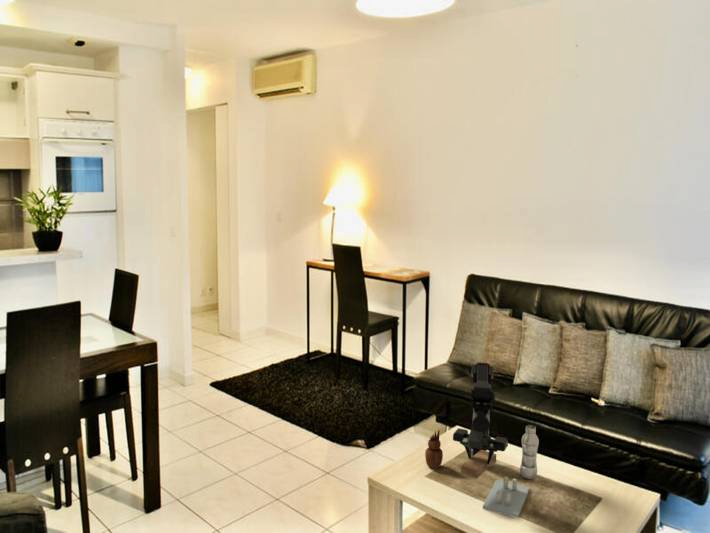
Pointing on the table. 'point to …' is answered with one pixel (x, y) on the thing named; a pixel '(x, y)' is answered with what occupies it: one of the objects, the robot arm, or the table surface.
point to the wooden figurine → (434, 452)
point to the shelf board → (477, 464)
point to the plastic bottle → (529, 453)
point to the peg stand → (506, 497)
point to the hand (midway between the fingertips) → (479, 462)
